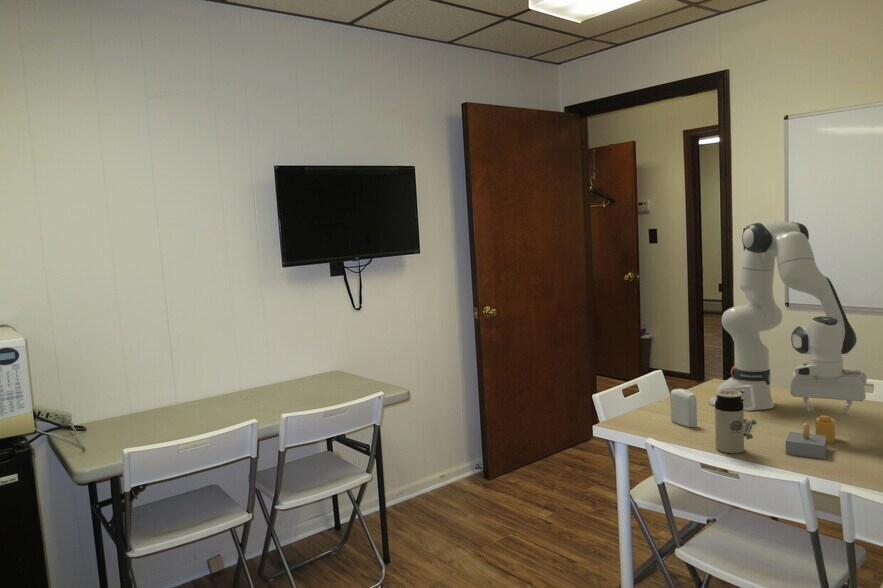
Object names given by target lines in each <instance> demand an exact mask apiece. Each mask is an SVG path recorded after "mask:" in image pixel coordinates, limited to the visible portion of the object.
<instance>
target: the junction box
mask: <svg viewBox="0 0 883 588" xmlns="http://www.w3.org/2000/svg"><path fill="white" fill-rule="evenodd" d="M802 425H803V427H802V430H803V432H795V431H789V432H788V434H787V437H786V439H785V454H786V455H791V456H796V457H797V456H799V457H806V458H813V459H819V460H820V459H821V460H824V459H825V458H826V454H827V450H828V442H827V436H823V435H816V433H815V434H814V433H813V434H812V433H810V423H807V422H804V423H802Z"/></svg>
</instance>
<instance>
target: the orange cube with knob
mask: <svg viewBox="0 0 883 588" xmlns="http://www.w3.org/2000/svg"><path fill="white" fill-rule="evenodd" d="M815 435H823V436H827V443H830V444H834V443H835V441H836V419H835V418H832V416H829V415H826V414H825V415H819V417H816V420H815Z"/></svg>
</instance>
